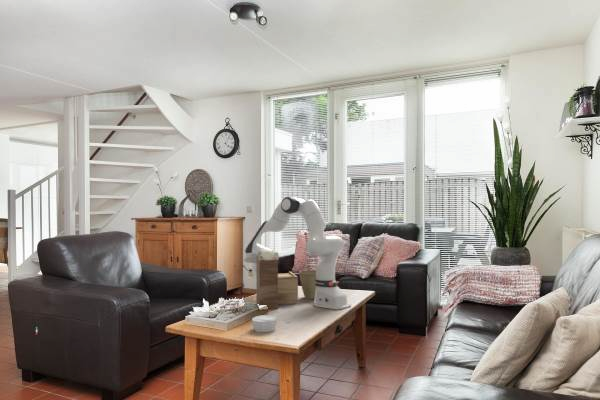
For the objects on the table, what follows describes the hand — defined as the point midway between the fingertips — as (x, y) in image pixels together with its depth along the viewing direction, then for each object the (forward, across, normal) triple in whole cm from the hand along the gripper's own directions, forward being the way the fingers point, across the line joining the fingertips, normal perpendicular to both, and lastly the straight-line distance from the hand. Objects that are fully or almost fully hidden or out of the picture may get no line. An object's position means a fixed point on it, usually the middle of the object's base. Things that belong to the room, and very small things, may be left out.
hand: (263, 251), depth 249 cm
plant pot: (-18, +30, +24) cm, 42 cm away
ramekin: (+34, -8, +54) cm, 64 cm away
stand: (-11, +7, +27) cm, 30 cm away
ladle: (+6, 0, +6) cm, 9 cm away
